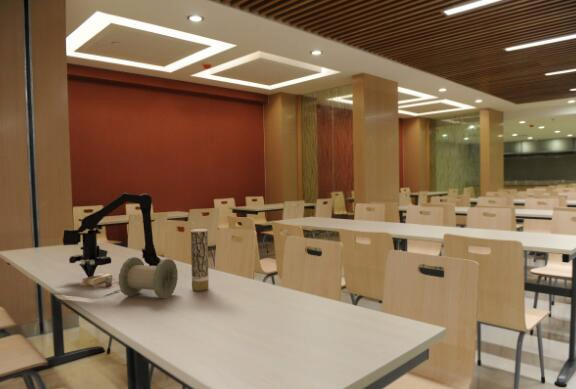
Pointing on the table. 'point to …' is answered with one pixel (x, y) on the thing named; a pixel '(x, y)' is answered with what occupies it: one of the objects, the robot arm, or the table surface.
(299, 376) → the table surface
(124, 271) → the spool
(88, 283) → the maple plate
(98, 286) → the board
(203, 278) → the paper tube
